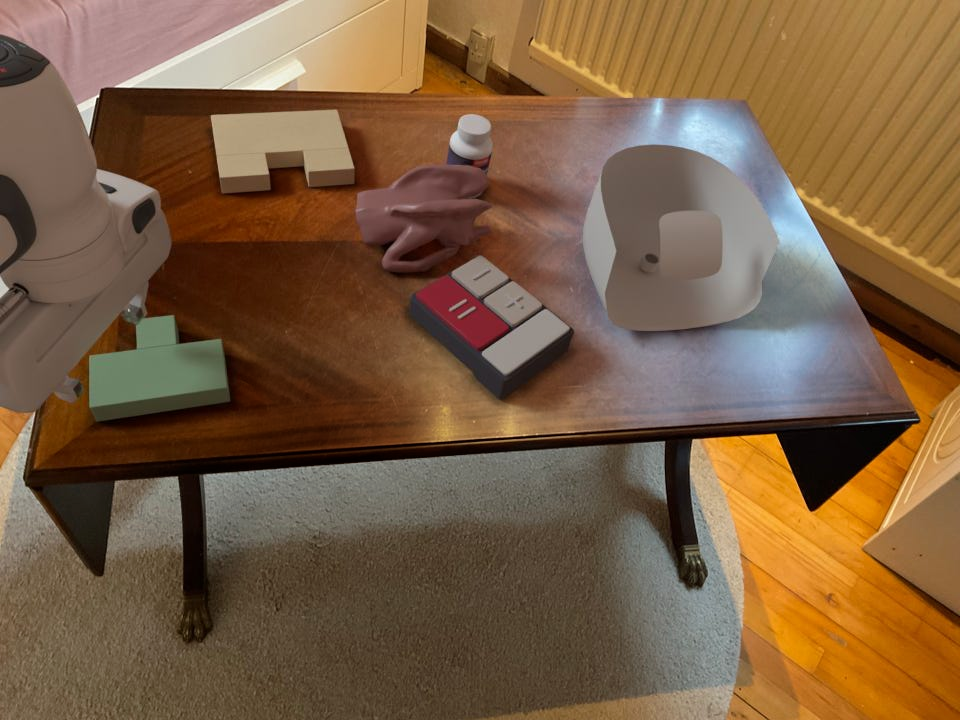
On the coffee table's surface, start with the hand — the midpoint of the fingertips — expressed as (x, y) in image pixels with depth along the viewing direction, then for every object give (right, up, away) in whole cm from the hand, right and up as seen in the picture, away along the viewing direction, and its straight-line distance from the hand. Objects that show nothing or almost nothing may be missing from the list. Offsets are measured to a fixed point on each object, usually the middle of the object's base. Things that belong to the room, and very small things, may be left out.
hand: (104, 354), depth 67 cm
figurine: (+27, +14, +23) cm, 38 cm away
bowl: (+55, +11, +26) cm, 62 cm away
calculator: (+35, +2, +16) cm, 38 cm away
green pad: (+2, -2, +7) cm, 7 cm away
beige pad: (+9, +25, +28) cm, 39 cm away
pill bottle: (+32, +22, +30) cm, 49 cm away
